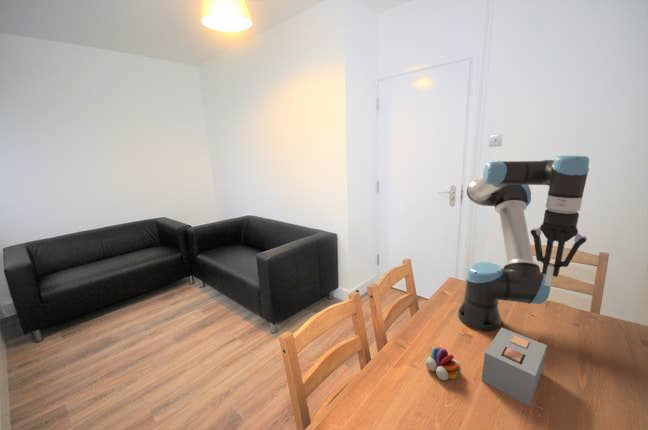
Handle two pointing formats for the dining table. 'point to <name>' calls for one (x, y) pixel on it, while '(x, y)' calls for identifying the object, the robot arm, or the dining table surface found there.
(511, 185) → the robot arm
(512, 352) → the peg
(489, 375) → the socket block
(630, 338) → the dining table surface
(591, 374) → the dining table surface
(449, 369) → the rainbow disc toy
